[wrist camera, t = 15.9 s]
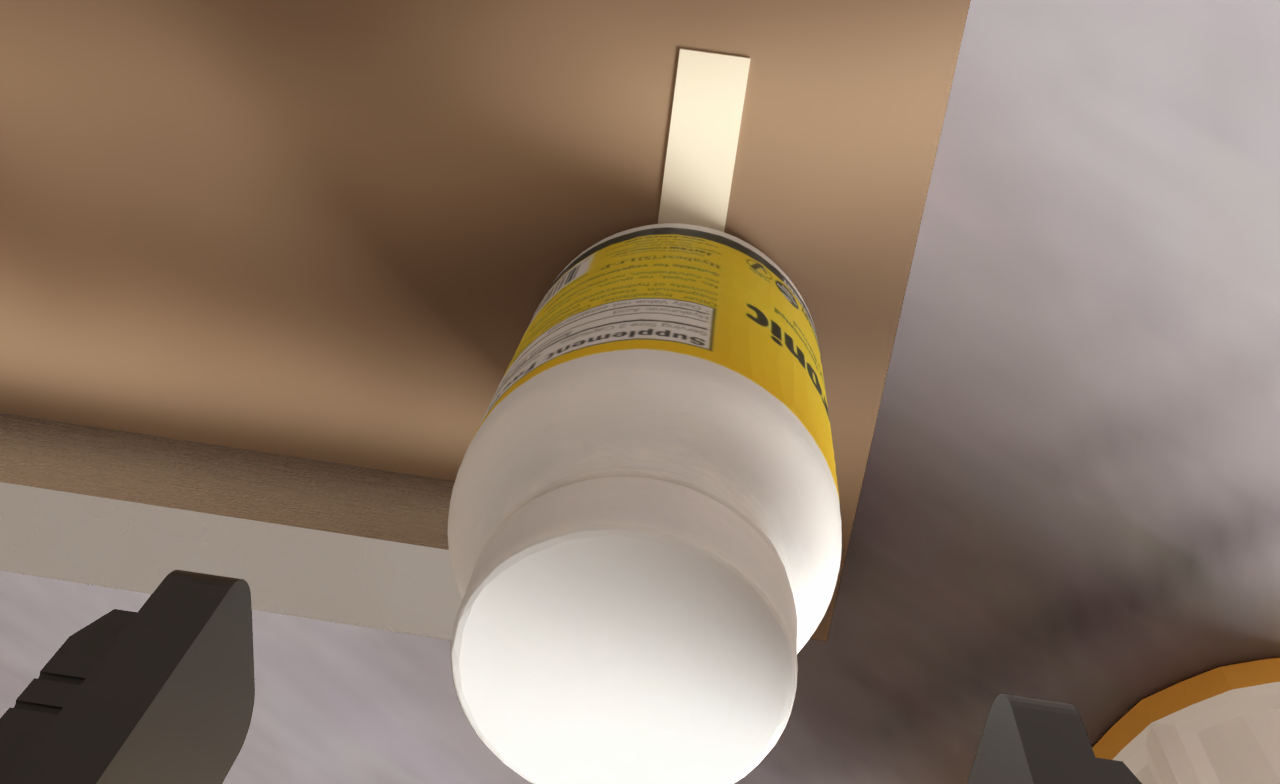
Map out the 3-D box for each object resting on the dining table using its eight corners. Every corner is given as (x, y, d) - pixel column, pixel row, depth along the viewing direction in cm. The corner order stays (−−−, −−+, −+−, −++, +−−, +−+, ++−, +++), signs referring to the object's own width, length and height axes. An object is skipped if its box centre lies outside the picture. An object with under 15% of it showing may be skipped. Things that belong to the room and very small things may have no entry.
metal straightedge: (-445, 346, 25) (-566, 396, 22) (800, 532, 24) (804, 603, 21) (-420, 432, 26) (-535, 488, 23) (782, 614, 25) (785, 691, 22)
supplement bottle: (835, 467, 23) (877, 853, 14) (562, 492, 24) (438, 873, 15) (807, 194, 21) (835, 447, 12) (507, 233, 22) (327, 496, 13)
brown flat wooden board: (-592, -283, 21) (-691, -293, 20) (972, -79, 20) (988, -74, 19) (-397, 416, 27) (-462, 447, 26) (823, 600, 26) (827, 643, 25)
